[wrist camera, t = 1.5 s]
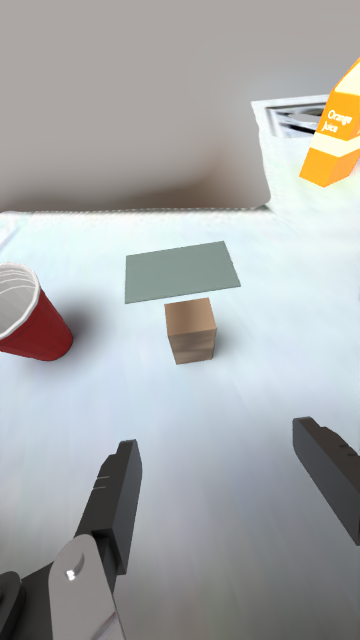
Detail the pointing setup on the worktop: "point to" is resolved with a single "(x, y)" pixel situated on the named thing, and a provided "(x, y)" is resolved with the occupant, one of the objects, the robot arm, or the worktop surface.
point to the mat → (179, 272)
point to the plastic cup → (29, 317)
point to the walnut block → (191, 330)
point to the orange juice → (336, 134)
